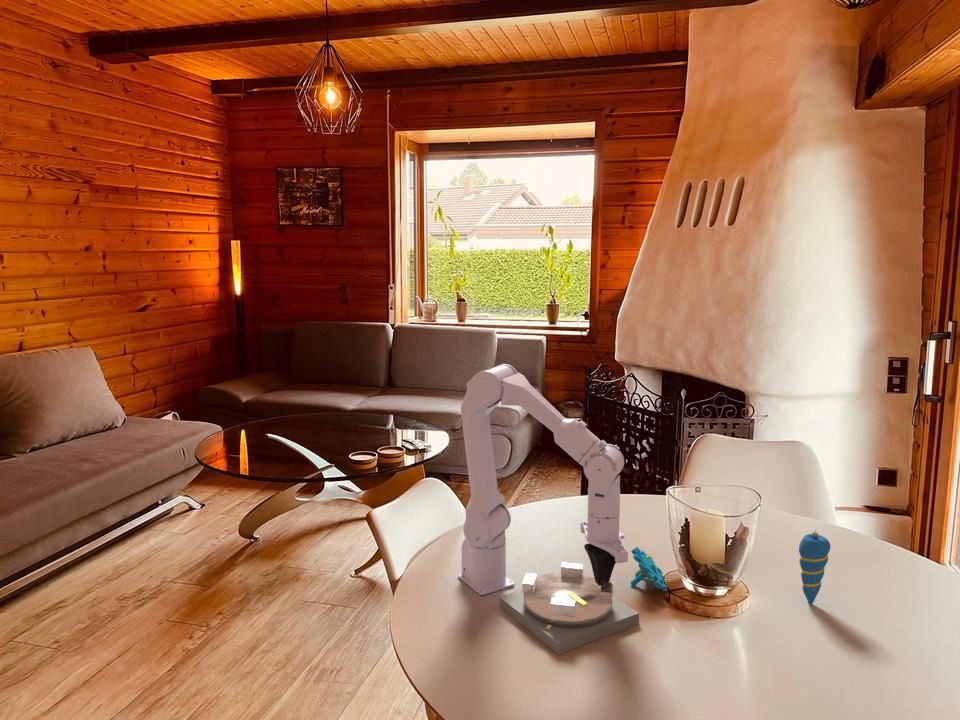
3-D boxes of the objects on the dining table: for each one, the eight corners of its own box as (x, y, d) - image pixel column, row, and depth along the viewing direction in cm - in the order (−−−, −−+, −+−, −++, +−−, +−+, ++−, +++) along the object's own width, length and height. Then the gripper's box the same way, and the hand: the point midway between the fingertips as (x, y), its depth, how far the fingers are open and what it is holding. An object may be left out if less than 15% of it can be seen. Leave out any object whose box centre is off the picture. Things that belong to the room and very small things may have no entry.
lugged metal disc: (506, 596, 128) (506, 576, 127) (574, 574, 136) (574, 555, 135) (559, 636, 114) (559, 614, 113) (631, 610, 122) (631, 589, 122)
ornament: (825, 600, 130) (831, 525, 127) (826, 613, 125) (832, 536, 123) (795, 595, 132) (800, 521, 129) (795, 607, 127) (800, 531, 125)
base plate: (499, 606, 128) (499, 595, 128) (574, 582, 137) (575, 572, 137) (558, 654, 113) (558, 642, 113) (638, 623, 122) (639, 612, 122)
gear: (672, 594, 129) (635, 553, 131) (648, 613, 130) (612, 572, 132) (672, 575, 140) (638, 537, 141) (650, 593, 141) (616, 555, 143)
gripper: (644, 525, 118) (641, 598, 121) (604, 496, 132) (602, 563, 134) (607, 530, 116) (606, 604, 118) (570, 501, 130) (570, 568, 132)
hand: (602, 583), depth 126 cm, fingers closed
